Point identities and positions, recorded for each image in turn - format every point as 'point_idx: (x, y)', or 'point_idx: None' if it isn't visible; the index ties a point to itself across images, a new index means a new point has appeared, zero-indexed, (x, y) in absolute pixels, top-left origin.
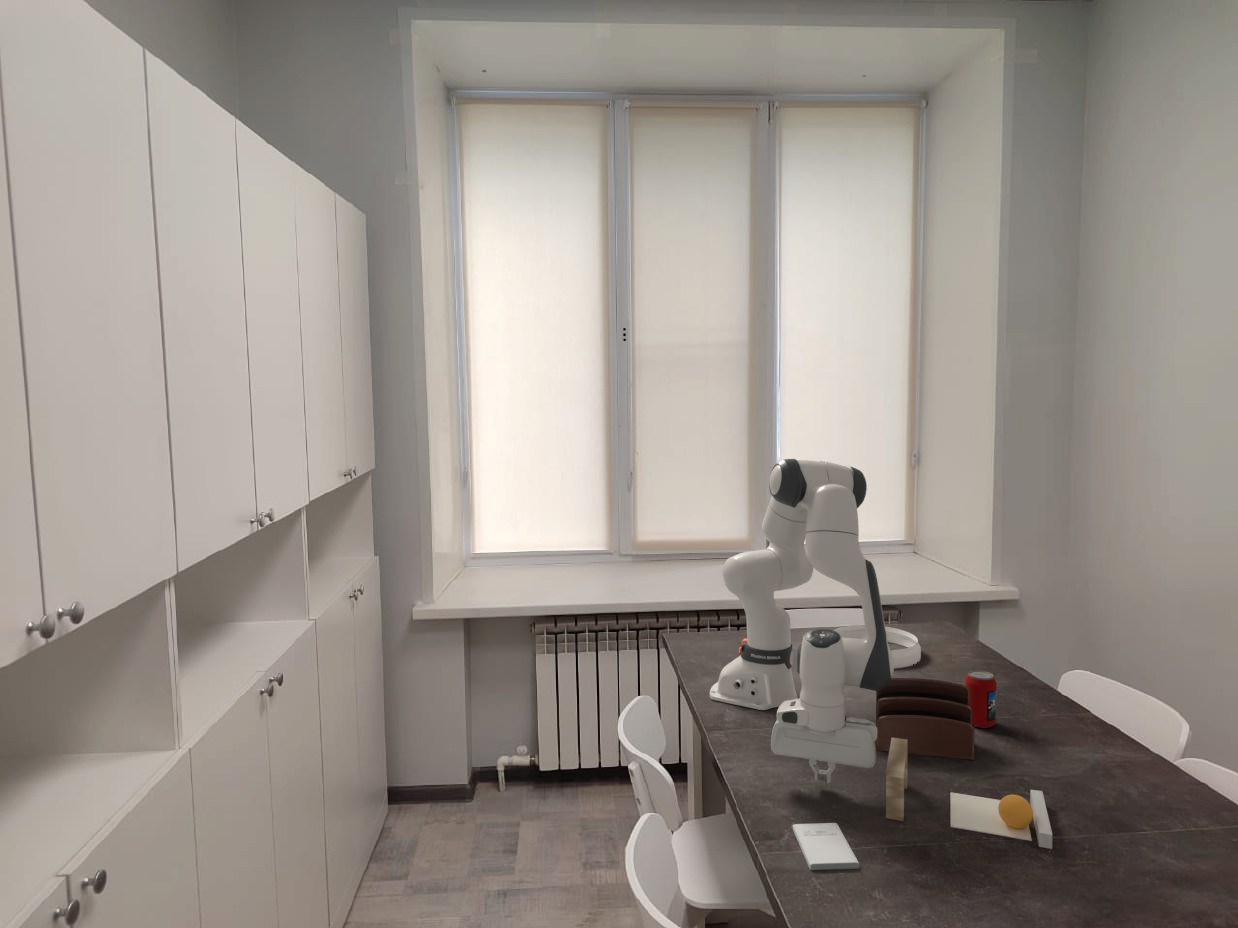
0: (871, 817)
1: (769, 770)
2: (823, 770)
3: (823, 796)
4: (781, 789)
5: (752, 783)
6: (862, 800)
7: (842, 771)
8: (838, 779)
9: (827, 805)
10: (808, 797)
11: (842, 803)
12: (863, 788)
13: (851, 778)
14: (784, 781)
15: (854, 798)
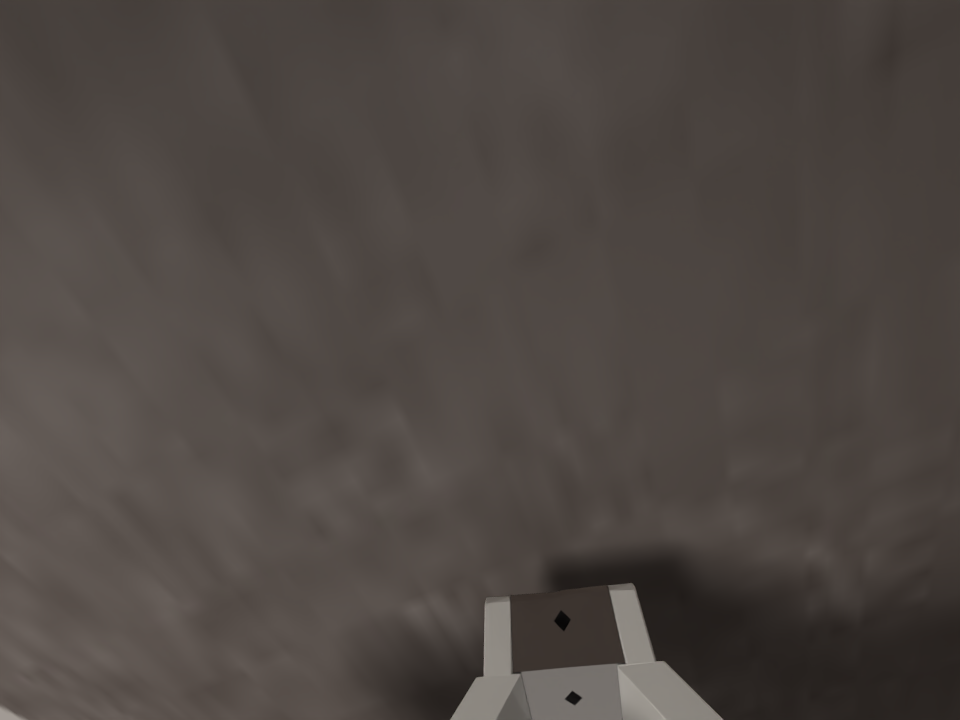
0: (940, 709)
1: (13, 476)
2: (572, 674)
3: None
4: (291, 660)
5: (85, 669)
6: (894, 575)
7: (670, 122)
8: (654, 346)
9: None
10: None
11: (739, 653)
12: (924, 402)
13: (796, 255)
14: (240, 573)
15: (828, 574)
